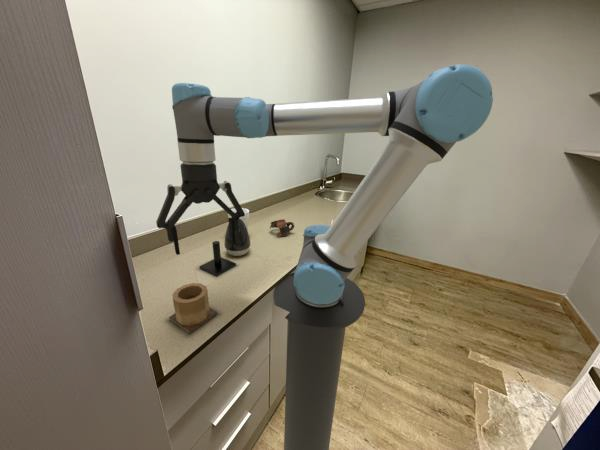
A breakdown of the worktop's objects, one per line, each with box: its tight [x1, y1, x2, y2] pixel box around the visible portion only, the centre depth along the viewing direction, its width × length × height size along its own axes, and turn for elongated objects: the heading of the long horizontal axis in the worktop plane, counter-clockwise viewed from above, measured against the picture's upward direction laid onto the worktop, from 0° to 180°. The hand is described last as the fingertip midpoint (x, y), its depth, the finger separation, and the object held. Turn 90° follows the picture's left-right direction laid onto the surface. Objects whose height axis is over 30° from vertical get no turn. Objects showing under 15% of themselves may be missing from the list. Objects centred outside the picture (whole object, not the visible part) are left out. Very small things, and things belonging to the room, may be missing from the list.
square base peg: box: [198, 240, 237, 277], centre depth 87 cm, size 9×9×10 cm
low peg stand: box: [168, 298, 218, 335], centre depth 63 cm, size 8×8×6 cm
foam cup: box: [227, 207, 250, 230], centre depth 112 cm, size 10×9×13 cm
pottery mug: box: [269, 218, 295, 238], centre depth 120 cm, size 12×10×8 cm
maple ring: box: [172, 282, 210, 325], centre depth 63 cm, size 8×8×7 cm
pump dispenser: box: [223, 218, 252, 257], centre depth 96 cm, size 10×10×15 cm
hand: (206, 246), depth 62 cm, fingers open, 13 cm apart
